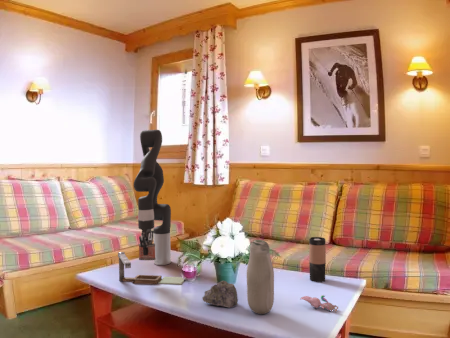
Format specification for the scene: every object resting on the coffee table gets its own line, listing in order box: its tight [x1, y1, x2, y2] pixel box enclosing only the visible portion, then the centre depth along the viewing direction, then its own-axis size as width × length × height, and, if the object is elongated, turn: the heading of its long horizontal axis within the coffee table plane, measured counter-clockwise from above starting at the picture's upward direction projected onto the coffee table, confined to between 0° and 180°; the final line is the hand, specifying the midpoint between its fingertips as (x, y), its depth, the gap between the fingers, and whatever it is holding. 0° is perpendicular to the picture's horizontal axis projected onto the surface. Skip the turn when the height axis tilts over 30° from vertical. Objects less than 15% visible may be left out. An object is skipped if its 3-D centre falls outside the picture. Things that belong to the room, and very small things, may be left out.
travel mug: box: [308, 236, 327, 283], centre depth 195 cm, size 8×8×20 cm
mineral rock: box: [201, 280, 239, 309], centre depth 166 cm, size 13×11×10 cm
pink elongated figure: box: [300, 294, 339, 312], centre depth 160 cm, size 6×6×15 cm
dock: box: [118, 257, 163, 285], centre depth 197 cm, size 7×20×11 cm, turn 80°
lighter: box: [138, 239, 156, 261], centre depth 196 cm, size 8×3×10 cm, turn 85°
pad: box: [158, 276, 185, 286], centre depth 196 cm, size 9×11×1 cm
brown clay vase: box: [246, 239, 275, 315], centre depth 156 cm, size 10×10×28 cm
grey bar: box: [117, 251, 132, 270], centre depth 190 cm, size 3×21×3 cm, turn 23°
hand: (147, 253), depth 196 cm, fingers closed on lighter, 3 cm apart
